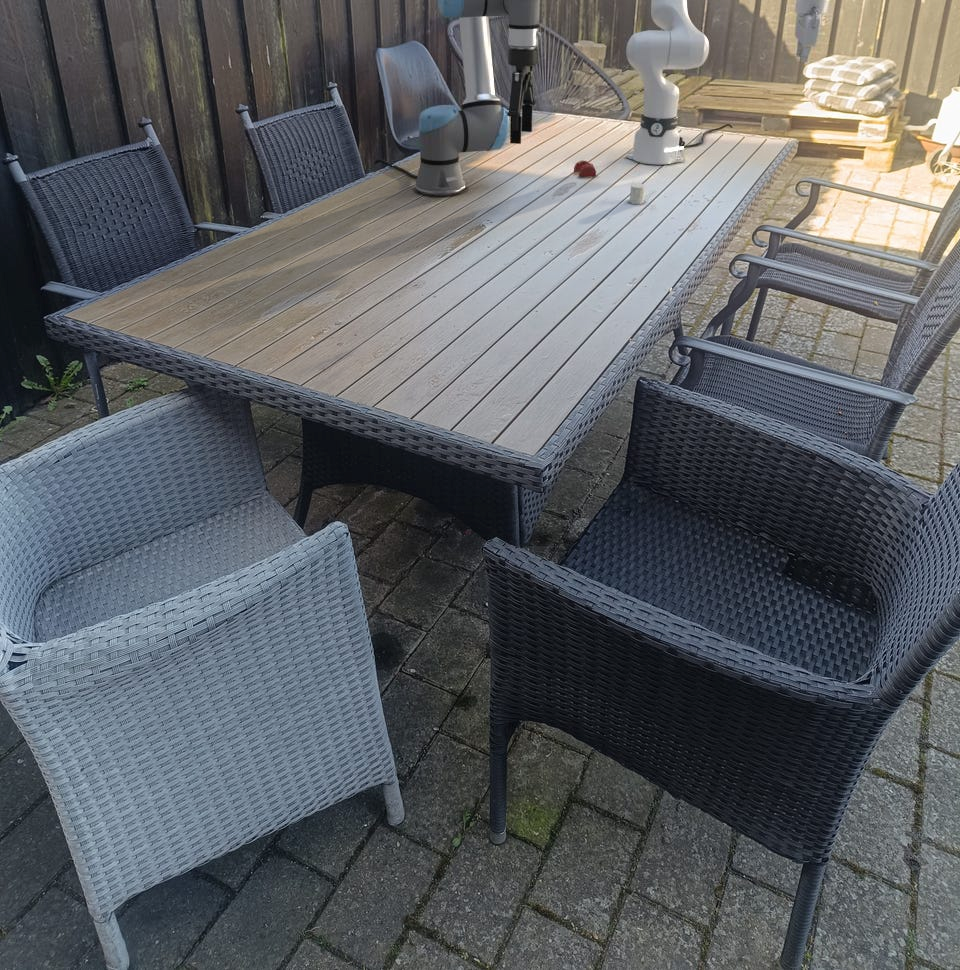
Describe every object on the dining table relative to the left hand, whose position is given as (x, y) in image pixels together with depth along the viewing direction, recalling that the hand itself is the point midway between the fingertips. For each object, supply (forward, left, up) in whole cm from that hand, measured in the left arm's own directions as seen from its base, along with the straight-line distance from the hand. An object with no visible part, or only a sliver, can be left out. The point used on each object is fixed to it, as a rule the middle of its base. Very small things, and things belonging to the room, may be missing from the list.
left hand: (521, 137), depth 221 cm
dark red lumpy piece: (-11, +50, -22) cm, 56 cm away
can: (+17, +36, -22) cm, 45 cm away
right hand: (+40, +85, +12) cm, 94 cm away
